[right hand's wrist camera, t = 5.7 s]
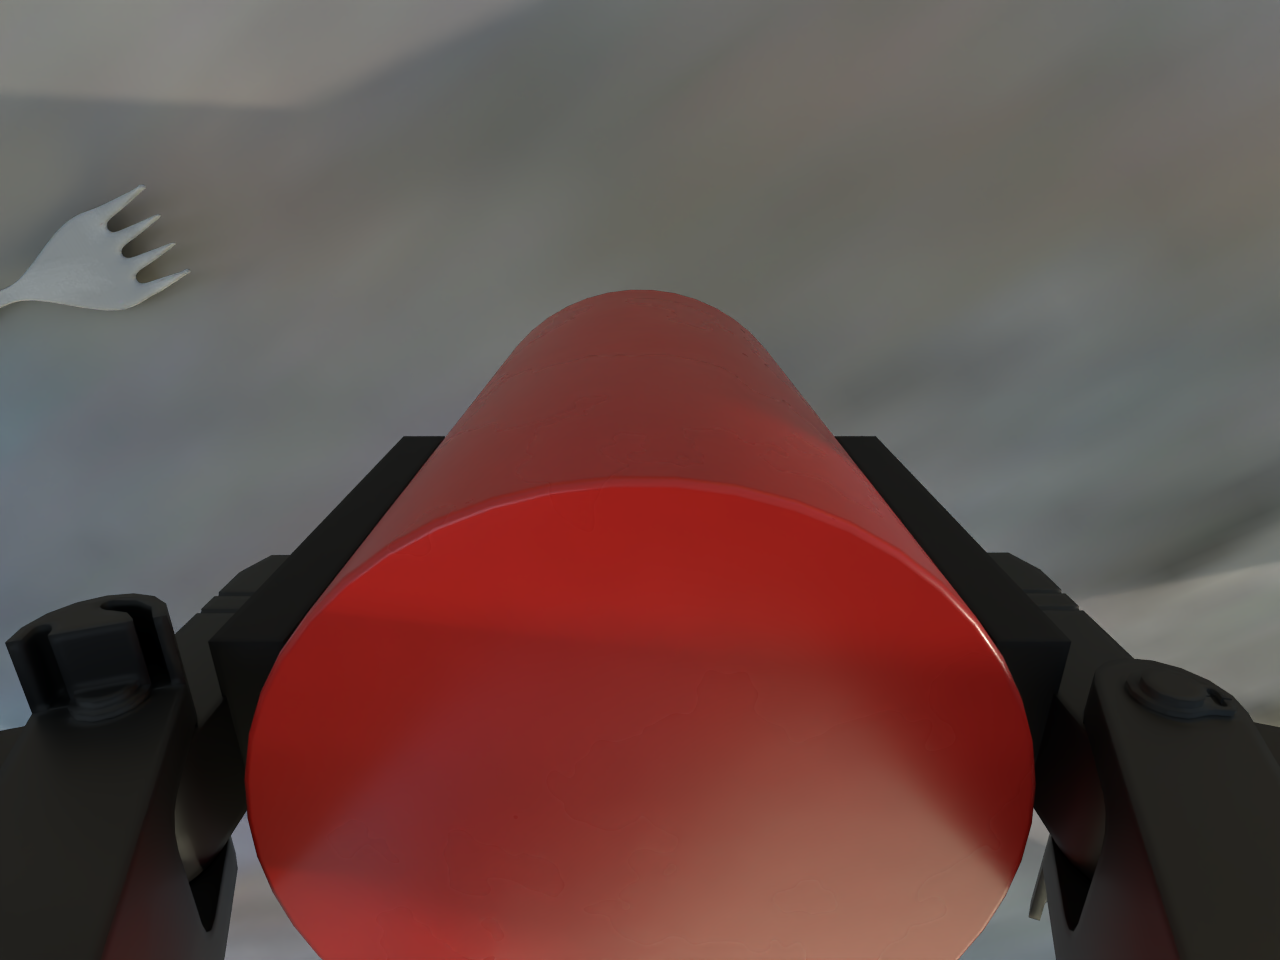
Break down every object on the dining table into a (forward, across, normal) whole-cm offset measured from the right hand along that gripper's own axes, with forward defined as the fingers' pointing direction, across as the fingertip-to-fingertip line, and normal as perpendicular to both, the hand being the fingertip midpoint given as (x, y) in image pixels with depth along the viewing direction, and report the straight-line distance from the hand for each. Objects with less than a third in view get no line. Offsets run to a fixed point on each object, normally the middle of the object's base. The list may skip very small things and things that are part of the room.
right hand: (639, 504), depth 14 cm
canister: (+3, 0, 0) cm, 3 cm away
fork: (+9, +20, -2) cm, 22 cm away
